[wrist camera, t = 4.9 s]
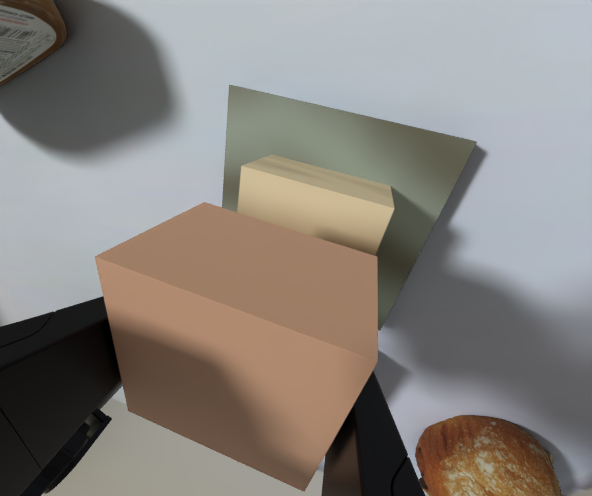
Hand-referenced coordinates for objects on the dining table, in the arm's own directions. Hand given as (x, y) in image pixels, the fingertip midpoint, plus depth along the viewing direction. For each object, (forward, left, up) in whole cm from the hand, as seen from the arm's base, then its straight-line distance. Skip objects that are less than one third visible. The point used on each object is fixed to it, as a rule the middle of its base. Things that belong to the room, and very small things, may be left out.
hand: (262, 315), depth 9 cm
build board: (0, 0, -10) cm, 10 cm away
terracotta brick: (0, 0, -1) cm, 1 cm away
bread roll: (-17, -19, -10) cm, 27 cm away
